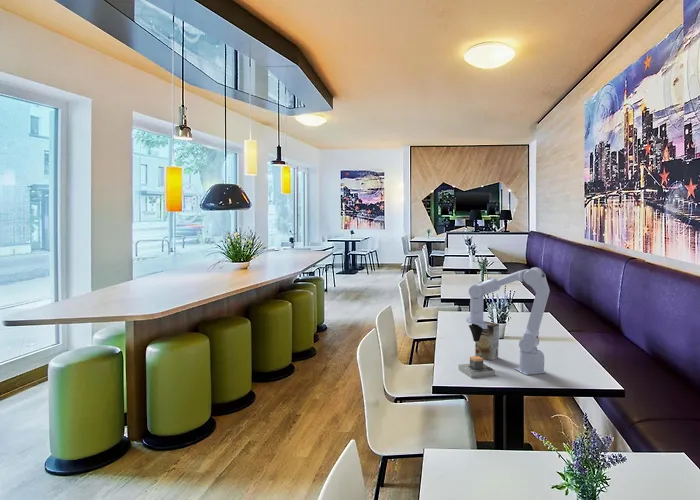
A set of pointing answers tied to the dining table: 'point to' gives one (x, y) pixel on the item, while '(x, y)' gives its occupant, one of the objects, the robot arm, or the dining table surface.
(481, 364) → the plug
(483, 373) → the socket plate
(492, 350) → the coffee box
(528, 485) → the dining table surface
